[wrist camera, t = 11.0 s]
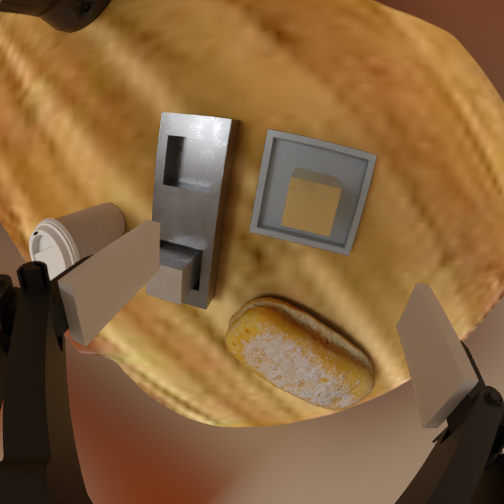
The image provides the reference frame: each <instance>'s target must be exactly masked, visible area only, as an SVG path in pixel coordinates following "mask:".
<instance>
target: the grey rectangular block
mask: <svg viewBox="0 0 504 504" xmlns="http://www.w3.org/2000/svg"><path fill="white" fill-rule="evenodd" d="M202 255H203V250H200V249H196V248H192V247H188V246H184V245H180V244H176V243H172V242H167V243H166V244H165V245H163V246H162V247H161V248H160V252H159V271H158V272H157V273H156V274H155V275H154V276H153V277H152V278H151V279H150V280H149V281H148V282H147V283H146V294H148V295H151V296H154V297H157V298H160V299H163V300H166V301H170V302H173V303H176V304H179V305H181V304H182V302H183V301H184V300H185V298H186V297H187V296H188V294H189V293H190V292H191V290H192V289H193V287H194V286H195V285H196V283H197V282H198V281H199V279H200V276H201V265H202Z"/></svg>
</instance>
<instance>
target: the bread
mask: <svg viewBox="0 0 504 504" xmlns="http://www.w3.org/2000/svg"><path fill="white" fill-rule="evenodd" d="M226 346H227V348H228V350H229V351H230V352H231V354H232V355H233V356H234V357H236V358H237V359H238V360H239V361H240V362H241V363H242V364H243V365H244V366H246V367H247V368H249V369H250V370H251V371H252V372H254V373H255V374H256V375H258V376H260V377H261V378H263V379H264V380H265V381H267V382H268V383H270V384H272V385H273V386H275V387H277V388H279V389H281V390H283V391H286V392H288V393H290V394H292V395H294V396H295V397H298V398H300V399H302V400H304V401H306V402H308V403H310V404H312V405H314V406H318V407H322V408H325V409H330V410H341V409H345V408H348V407H350V406H352V405H355V404H356V403H358V402H360V401H361V400H363V399H364V398H365V397H367V396H368V395H369V394H370V393H371V391H372V390H373V388H374V385H375V378H374V376H373V367H372V363H371V361H370V359H369V358H368V357H367V356H366V355H365V354H364V353H363V352H362V350H360V349H359V348H358V347H357V346H354V345H353V343H351V342H350V341H349V340H347V339H346V338H345V337H343V336H342V335H340V334H339V333H338V332H336V331H334V330H332V329H331V328H330V327H328V326H326V325H325V324H324V323H322V322H321V321H319V320H318V319H316V318H315V317H313V316H312V315H310V314H309V313H308V312H305V311H304V310H302V309H299V308H297V307H295V306H293V305H292V304H290V303H287V302H285V301H282V300H280V299H277V298H272V297H260V298H257V299H254V300H252V301H250V302H248V303H247V304H245V305H244V306H242V307H241V309H239V310H238V311H237V312H236V313H235V314H234V315H233V316H232V317H231V319H230V321H229V326H228V330H227V333H226Z"/></svg>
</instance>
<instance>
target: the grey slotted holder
mask: <svg viewBox="0 0 504 504" xmlns="http://www.w3.org/2000/svg"><path fill="white" fill-rule="evenodd" d="M239 124H240V120H234V119H226V118H218V117H210V116H201V115H190V114H179V113H164V112H162V115H161V122H160V130H159V138H158V148H157V157H156V168H155V180H154V194H153V212H152V221H155V222H159V223H160V248H161V247H162V246H163V245H165V244H166V243H167V242H172V243H176V244H180V245H184V246H188V247H192V248H196V249H200V250H203V255H202V265H201V276H200V279H199V281H198V282H197V283H196V285H195V286H194V287H193V289H192V290H191V292H190V293H189V294H188V296H187V297H186V298H185V300H184V301H183V302H182V303H186V304H189V305H192V306H196V307H199V308H203V309H207V307H208V306H209V304H210V302H211V301H212V299H213V297H214V296H215V288H216V280H217V272H218V264H219V257H220V249H221V242H222V235H223V227H224V220H225V213H226V206H227V200H228V193H229V186H230V180H231V173H232V167H233V161H234V154H235V148H236V142H237V136H238V130H239Z"/></svg>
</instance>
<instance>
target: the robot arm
mask: <svg viewBox="0 0 504 504" xmlns="http://www.w3.org/2000/svg"><path fill="white" fill-rule="evenodd" d="M109 1H110V0H0V12H7V13H16V14H24V15H31V16H37V17H40V18H41V19H42V20H44V21H45V22H46V23H48V24H49V25H50V26H52V27H53V28H54V29H56V30H59V31H64V32H74V31H77V30H79V29H81V28H83V27H85V26H86V25H88V24H89V23H90V22H92V21H93V20H94V19H95V18H96V17H97V16H98V15H99V14H100V13H101V12H102V11H103V9H104V8H105V7H106V5H107V4H108V3H109ZM159 252H160V223H159V222H155V221H150V220H147V221H145V222H143V223H142V224H140V225H139V226H137V227H135V228H134V229H132V230H131V231H129V232H128V233H126V234H125V235H123V236H121V237H120V238H118V239H117V240H115V241H114V242H112V243H111V244H109V245H108V246H106V247H105V248H103V249H102V250H100V251H99V252H97V253H96V254H94V255H93V254H92V255H90V256H87V257H84V258H82V259H80V260H79V261H77V262H76V263H75V264H74V265H72V266H70V267H69V268H68V269H66V270H64V271H63V272H62V273H60V274H59V275H57V276H56V277H55V278H53V279H52V280H51V281H50V278H49V273H48V268H47V264H45V263H44V262H41V261H32V262H28V263H26V264H23V265H22V266H20V267H19V269H18V270H17V275H18V279H19V283H20V287H21V288H18V287H13V284H12V280H11V277H10V276H9V275H5V274H3V275H1V274H0V410H1V405H2V402H3V399H4V402H3V450H4V458H3V460H2V461H0V504H93V503H92V501H91V500H90V498H89V496H88V494H87V492H86V488H85V484H84V481H83V477H82V473H81V469H80V465H79V460H78V455H77V450H76V445H75V440H74V434H73V428H72V421H71V414H70V407H69V398H68V386H67V373H66V350H65V337H64V334H63V333H64V332H65V331H66V330H68V329H69V330H70V334H71V337H72V340H74V341H76V342H78V343H80V344H82V345H84V346H87V345H88V344H89V343H90V342H91V341H92V339H93V338H94V337H95V336H96V335H97V334H98V333H99V332H100V331H101V330H102V329H103V328H104V327H105V325H106V324H107V323H108V322H109V321H110V320H111V319H112V318H113V317H114V316H115V315H116V314H117V313H118V312H119V311H120V310H121V309H122V308H123V307H124V305H125V304H126V303H127V302H128V301H129V300H130V299H131V298H132V297H133V296H134V295H135V294H136V293H137V292H138V291H139V290H140V289H141V288H142V287H143V286H144V285H145V284H146V283H147V282H148V281H149V280H150V279H151V278H152V277H153V276H154V275H155V274H156V273H157V272H158V271H159ZM396 328H397V331H398V334H399V337H400V340H401V344H402V347H403V350H404V354H405V357H406V361H407V364H408V368H409V372H410V376H411V379H412V383H413V387H414V391H415V395H416V400H417V404H418V408H419V413H420V418H421V422H422V428H438V427H439V426H440V425H441V424H442V423H443V422H444V421H445V420H446V419H447V423H448V427H447V428H445V430H444V431H442V432H441V433H440V434H439V435H438V436H437V437H436V438H435V439H434V440H433V441H432V442H433V443H434V442H436V441H437V440H438V441H437V443H436V444H435V447H434V448H433V450H432V451H431V453H430V454H429V456H428V458H427V459H426V461H425V463H424V464H423V466H422V467H421V468H420V470H419V471H418V473H417V474H416V476H415V477H414V479H413V480H412V481H411V483H410V484H409V486H408V487H407V488H406V490H405V491H404V492H403V494H402V495H401V496H400V498H399V499H398V500H397V501H396V503H395V504H504V454H502V449H503V448H504V401H503V398H502V396H501V395H500V393H499V392H498V391H497V390H496V389H495V388H493V387H491V386H485V383H484V381H483V379H482V376H481V375H480V372H479V370H478V368H477V366H476V365H475V362H474V359H473V358H472V355H471V353H470V351H469V349H468V348H467V347H466V346H465V345H464V343H463V342H462V341H460V340H459V338H458V336H457V334H456V332H455V330H454V329H453V327H452V325H451V323H450V321H449V319H448V317H447V316H446V314H445V312H444V310H443V308H442V307H441V305H440V303H439V302H438V300H437V298H436V296H435V295H434V293H433V291H432V290H431V288H430V286H429V285H425V284H421V283H416V285H415V288H414V290H413V292H412V294H411V296H410V299H409V301H408V303H407V305H406V307H405V309H404V311H403V313H402V315H401V317H400V319H399V321H398V323H397V325H396Z"/></svg>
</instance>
